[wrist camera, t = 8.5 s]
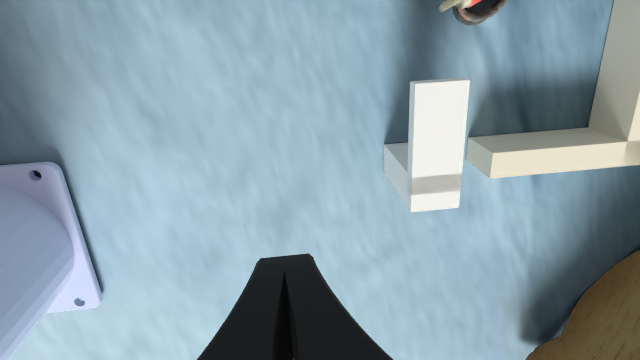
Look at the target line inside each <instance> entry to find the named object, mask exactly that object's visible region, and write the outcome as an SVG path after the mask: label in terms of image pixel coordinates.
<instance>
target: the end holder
mask: <svg viewBox="0 0 640 360" xmlns="http://www.w3.org/2000/svg"><path fill="white" fill-rule="evenodd" d="M466 161H468V162H469V163H470V164H472V165H473V166H474V167H476V168H477V169H478V170H480V171H481V172H482V173H484V174H485V175H486V176H487V177H489V178H501V177H512V176H523V175H534V174H544V173H555V172H566V171H577V170H588V169H599V168H610V167H621V166H632V165H640V0H614V3H613V8H612V13H611V18H610V23H609V27H608V32H607V37H606V42H605V47H604V52H603V56H602V61H601V66H600V71H599V76H598V81H597V86H596V90H595V95H594V100H593V105H592V110H591V115H590V120H589V124H588V127H587V128H575V129H563V130H551V131H539V132H527V133H515V134H503V135H491V136H479V137H468V143H467V154H466Z"/></svg>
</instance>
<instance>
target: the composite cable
mask: <svg viewBox="0 0 640 360" xmlns="http://www.w3.org/2000/svg"><path fill="white" fill-rule="evenodd" d="M479 1H481V0H445V1H444V2H443V3H442V4H441V5H440V6H439V11H440V12H444V11H446V10H448V9H449V8H451V7H452V6H453V13H454V15H455V17H456V19H457V20H458V21H460V22H462V23H464V24H466V25H477V24H479V23H481V22H483V21H485V20H486V19H488V18H490V17H492V16H493V15H494V14H496V13H497V12H498V11H499V10H500V9H501V8H502V7H503V6H504V5H505V4H506V2H507V1H508V0H497V1H496V2H495V3H494V5H493V6H492V7H491V8H490V9H489V10H487V11H485V12H483V13H481V14H477V15H475V14H472V13H469V12H467V11H466V10H465V8H469V7H471V6H473V5H475V4H476V3H478V2H479Z"/></svg>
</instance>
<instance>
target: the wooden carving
mask: <svg viewBox="0 0 640 360" xmlns="http://www.w3.org/2000/svg"><path fill="white" fill-rule="evenodd" d="M526 360H640V249H639V250H637V251H635V252H634V253H632V254H630V255H629V256H627V257H626V258H624V259H623V260H621V261H620V262H618V263H616V264H615V265H614V266H613V267H612V268H610V269H609V270H608V271H606V272H605V273H604V274H603V275H602V276H601V277H600V278H599V279H598V280H597V281H596V282H595V283H594V284H593V285H592V286H591V287H589V288H588V289H587V291H586V292H585V293H584V294H583V295H582V297H581V298H580V300H579V301H578V303H577V304H576V305H575V307H574V308H573V310H572V312H571V314H570V316H569V318H568V320H567V323H566V325H565V327H564V329H563V331H562V333H561V335H559V336H558V337H557V338H555V339H553V340H550V341H547V342H546V343H544V344H542V345H540V346H538V347H537V348H535V350H534V351H533V352H532V353H530V354H529V356H528V357H527V358H526Z"/></svg>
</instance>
